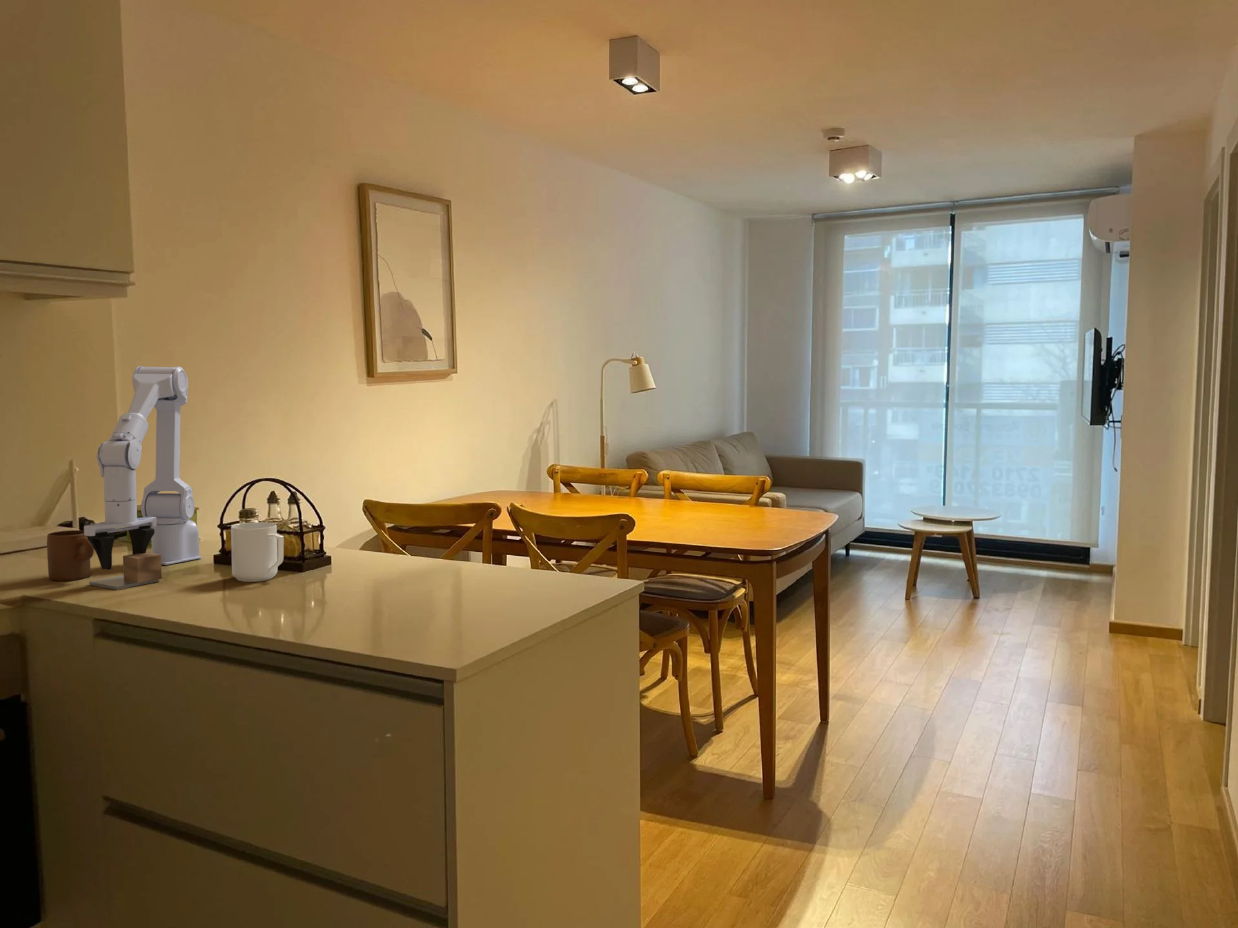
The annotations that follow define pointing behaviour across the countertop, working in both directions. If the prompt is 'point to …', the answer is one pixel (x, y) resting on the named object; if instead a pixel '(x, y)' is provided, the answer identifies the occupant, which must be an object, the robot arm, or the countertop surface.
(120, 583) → the slate coaster
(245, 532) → the mug
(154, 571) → the walnut block
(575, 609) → the countertop surface
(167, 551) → the robot arm
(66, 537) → the mug
